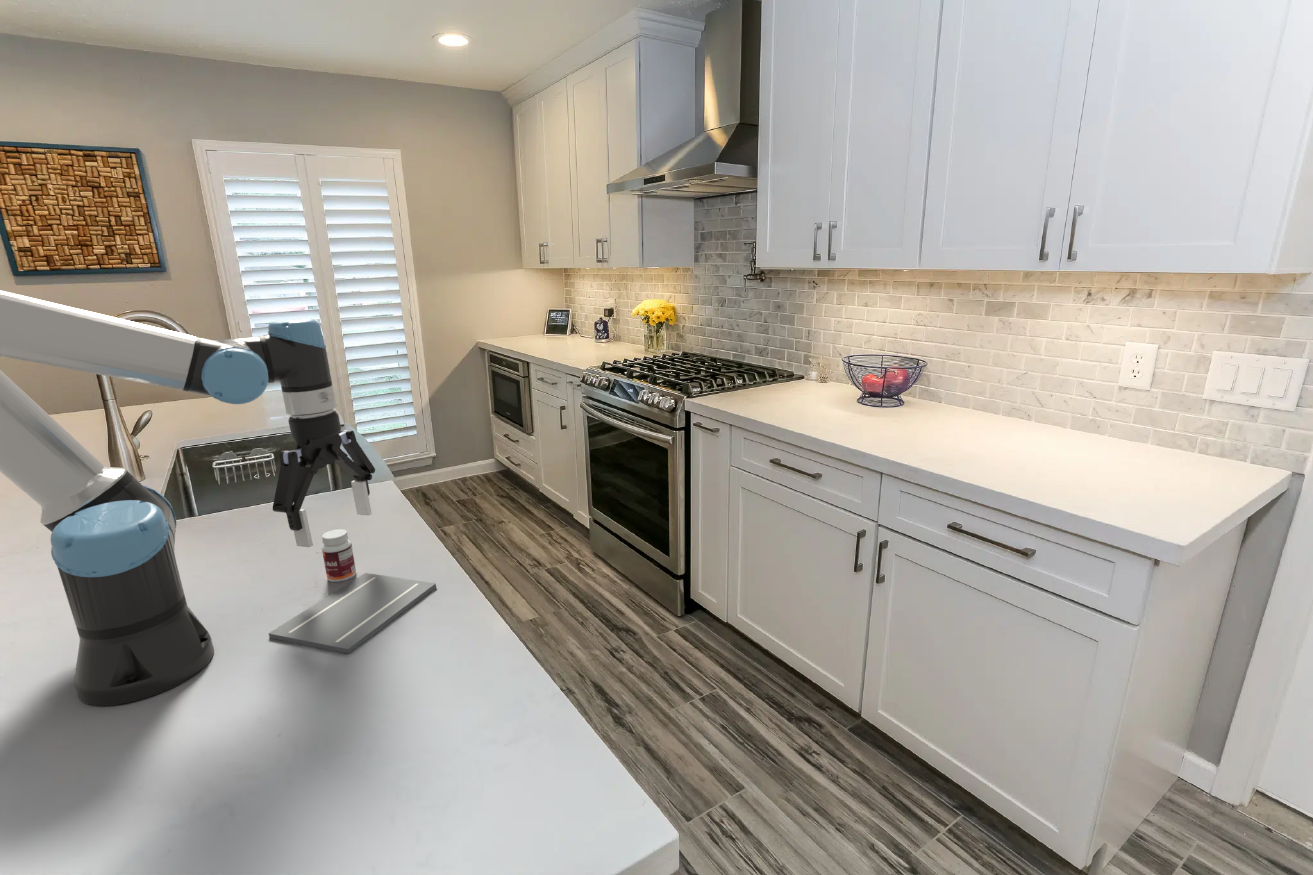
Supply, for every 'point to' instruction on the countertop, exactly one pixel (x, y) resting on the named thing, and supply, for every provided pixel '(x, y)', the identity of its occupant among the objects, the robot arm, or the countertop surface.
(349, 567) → the pill bottle
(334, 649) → the slate
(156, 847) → the countertop surface
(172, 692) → the countertop surface
